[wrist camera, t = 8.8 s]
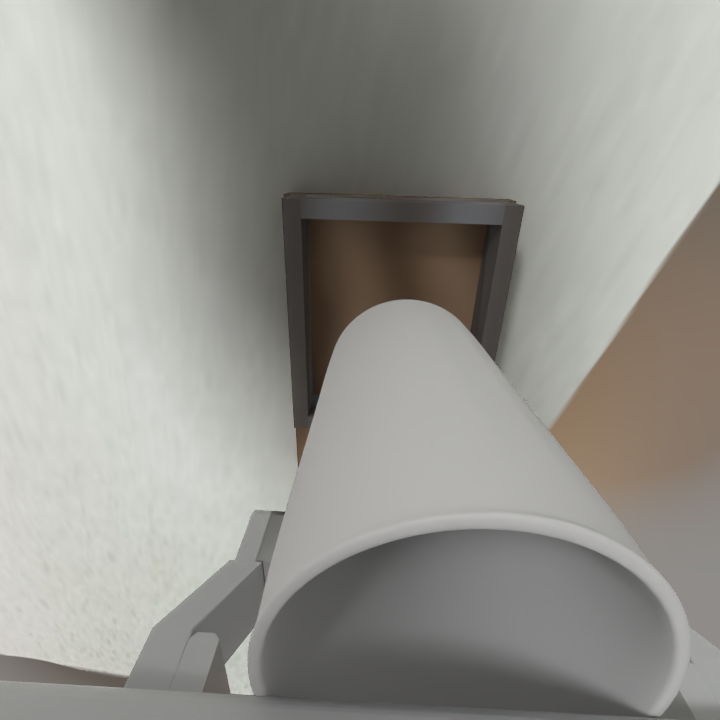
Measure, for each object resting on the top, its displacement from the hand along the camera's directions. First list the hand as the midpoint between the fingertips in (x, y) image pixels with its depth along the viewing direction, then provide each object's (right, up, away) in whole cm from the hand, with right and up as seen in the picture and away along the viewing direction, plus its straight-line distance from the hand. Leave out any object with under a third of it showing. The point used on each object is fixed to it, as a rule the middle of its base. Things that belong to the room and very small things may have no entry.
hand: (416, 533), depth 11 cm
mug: (0, +3, +7) cm, 7 cm away
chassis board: (+1, +5, +19) cm, 20 cm away
